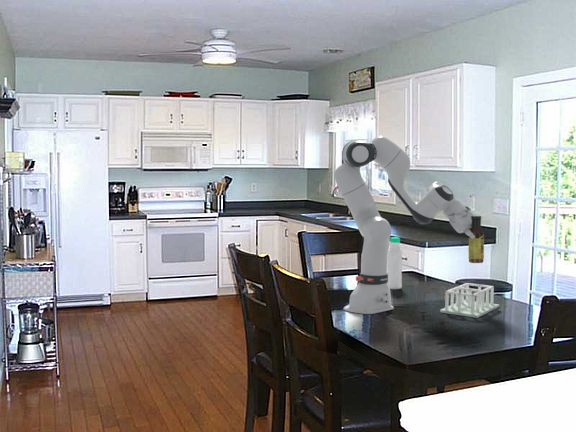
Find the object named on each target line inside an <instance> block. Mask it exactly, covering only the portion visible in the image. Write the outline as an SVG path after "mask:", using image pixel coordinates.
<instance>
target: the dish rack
mask: <svg viewBox="0 0 576 432" xmlns="http://www.w3.org/2000/svg"><path fill="white" fill-rule="evenodd" d="M470 286H472V287H477V288H472V287H470ZM482 288H483V289H482ZM494 289H495V286H494V285H487V284H479V283H471V282H465V283H463V284H461V285H458V286H455V287H452V288H449V289H448V290H445V294H444V295H445V297H444V299H445V300H444V308H441V309H440V310H439V313H444V314H448V315H449V314H450V315H457V316H463V317H468V318H476V319H479V318H480V317H482V316H484V315H486V314H488V313H491V312H492V311H494V310H496V309H498V308H500V304H497V303H494V300H495V299H494V297H495V294H494V293H495V292H494V291H495V290H494ZM472 292H474V293H472ZM449 297H450V300H449ZM449 302H450V305H449ZM454 302H455V303H454Z"/></svg>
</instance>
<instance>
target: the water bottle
mask: <svg viewBox="0 0 576 432" xmlns="http://www.w3.org/2000/svg"><path fill="white" fill-rule="evenodd" d="M400 243H401V238H400V237H395V236H394V237H393V236H392V237H390V245H389V249H388V255H387V274H388V283H387V285H388V287H389V288H390V290H400V289H402V287H403V286H402V285H403V284H402V283H403V281H402V279H403V274H402V271H403V256H402V255H403V250H402V248H401V246H400Z"/></svg>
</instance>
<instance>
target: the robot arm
mask: <svg viewBox="0 0 576 432" xmlns="http://www.w3.org/2000/svg"><path fill="white" fill-rule="evenodd" d="M410 159H411V158H410V157H409V155H408V154H407V153H406V152H405V151H404V150H403V149H402V148H401V147H400V146H399V145H397V144H396V143H394V142H393V141H392V140H391V139H389V138H387V137H385V136H384V135H383V136H382V135H379V136H377V137H375V138H374V139H372V140H371V141H370V142H368V141H364V140H359V139H354V140H351V141H348V142H347V143H346V144H345V145H344V146H343V148H342V151H341V165H339V166H338V167H336V169H335V170H334V172H333V177H334V181H335V183H336V185H337V188H338V190H339V193H340V195H341V196H342V198H343V200H344V202H345V203H346V207H347V208H348V210H349V211H350V213H351V216H352V218H353V220H354V223H355V225H356V227H357V229H358V231H359V233H360V235H361V236H362V238H363V245H362V252H361V253H360V254H361V255H360V256H361V257H360V273H359V276H358V275H355V281H358V284H357V285H356V286H355V288H354V289H353V290H352V292H351V294H350V295H349V300H348V301H349V304H347V305H345V306H344V307H343V310H344V311H346V312H351V313H354V314H355V313H356V314H361V315H362V314H363V315H374V314H377V313H378V314H379V313H383V312H386V311H391V310H394V309H395V307H394V306H393V305H392V299H391V297H392V296H391V289H390V288H389V287H388V285H387V283H388V250H389V249H390V244H391V242H390V239H391V236H392V227H391V224H390V222H389V221H388V220H387V219H385V218H383V217H382V216H381V214H380V212H379V210H378V207H377V206H376V203H375V199H374V197H373V196H372V194H371V191H370V189H369V188H368V186H367V184H366V181H365V180H364V178H363V177H362V174H361V167H364V166H367V165H369V164H371V163H372V162H375V163H377V165H379V166H380V167H381V168H383V170H384V171H385V172H386V174H387V176H388V179H387V183H388V185H389V187H390V189H392V191H393V192H394V193H395V195H396V196H397V197H398V199H399V200H400V202H402V204H403V205H404V206H405V208H406V209H407V210H408V212H409V213H410V214H411V216H412V218H413V219H414V220H415V221H416V223H418V224H419V225H428V224H431V222H433V220H434V219H435V218H436V216H438V215H439V214H440V213H442V214H443V216H444V217H445V218H446V219H447V220H448V222H449V223H450V225H451V227H452V228H453V229H454V230H455V231H456V232H457V233H459V234H465V235H466V236H468V238H469V237H470V238H471V239H475V238H476V236H475V234H473V233H472V232H471V231H470V229H471V228H472V220H471V216H476V215H475V214H474V213H473V212H472V210H471V208H470V207H469V206H466V205H465V204H464V203H462V202H461V201H460V200H459V199H457V198H456V197H455V195H454V193H453V192H452V190H451V189H450V188H449V187H448V186H447V185H445V184H444V183H442V182H441V181H434V182H432V183H431V184H430V185H429V186H428V187H427V189H426V193H425V194H424V195H423V197H421V198H420V199H419V200H418V201H415V199H414V198H413V197H412V196H411V194H410V193H409V192H408V190H407V189H406V188H405V186H404V185H405V181H406V178H407V176H408V174H409V171H410V167H411V160H410Z"/></svg>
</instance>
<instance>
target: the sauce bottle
mask: <svg viewBox="0 0 576 432" xmlns="http://www.w3.org/2000/svg"><path fill="white" fill-rule="evenodd" d="M471 220H472V228H471V229H470V231H471V232H472V233H473V234H475V236H476V238H475V239H471V238H470V237H469V236H468V262H469V263H470V264H483V263H484V259H485V256H484V255H485V233H484V231H483V228H482V215H475V216H471Z"/></svg>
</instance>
